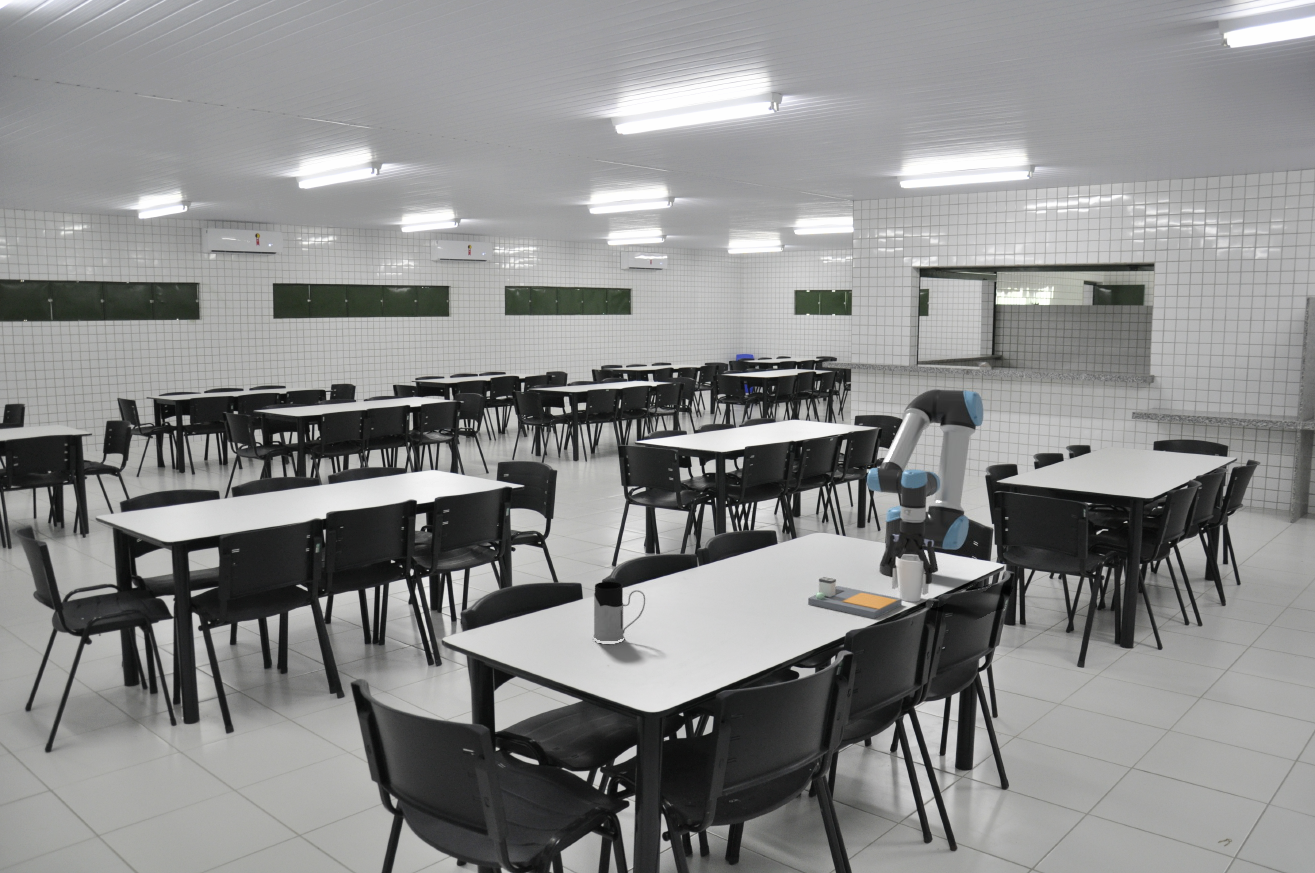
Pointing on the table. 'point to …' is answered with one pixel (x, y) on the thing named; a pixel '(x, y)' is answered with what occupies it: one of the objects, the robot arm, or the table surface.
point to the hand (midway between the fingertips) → (910, 590)
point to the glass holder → (610, 611)
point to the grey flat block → (856, 602)
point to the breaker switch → (827, 586)
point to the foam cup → (910, 577)
